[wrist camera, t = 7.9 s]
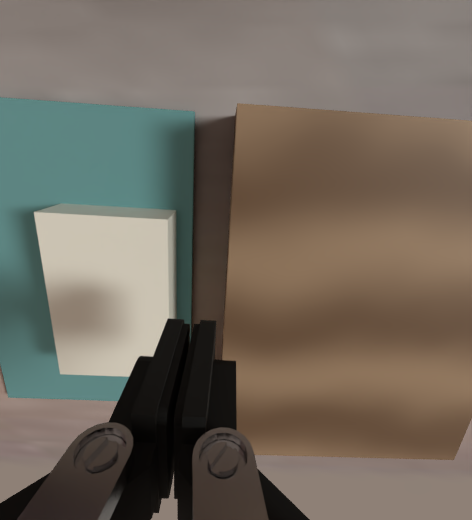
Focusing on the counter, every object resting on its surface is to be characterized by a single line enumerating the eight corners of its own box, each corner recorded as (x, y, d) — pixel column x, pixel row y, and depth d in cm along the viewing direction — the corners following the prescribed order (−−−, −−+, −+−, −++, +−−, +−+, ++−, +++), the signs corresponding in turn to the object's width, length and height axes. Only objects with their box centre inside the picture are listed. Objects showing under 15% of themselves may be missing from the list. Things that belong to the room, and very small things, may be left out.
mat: (-57, 94, 14) (-65, 92, 14) (194, 112, 15) (194, 111, 15) (12, 392, 20) (8, 397, 20) (190, 398, 21) (189, 403, 21)
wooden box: (235, 115, 15) (237, 103, 11) (505, 135, 16) (593, 130, 12) (219, 399, 21) (216, 453, 17) (414, 406, 22) (453, 459, 18)
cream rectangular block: (167, 219, 14) (176, 210, 16) (33, 211, 14) (61, 203, 16) (169, 378, 17) (176, 351, 19) (60, 374, 17) (80, 347, 19)
